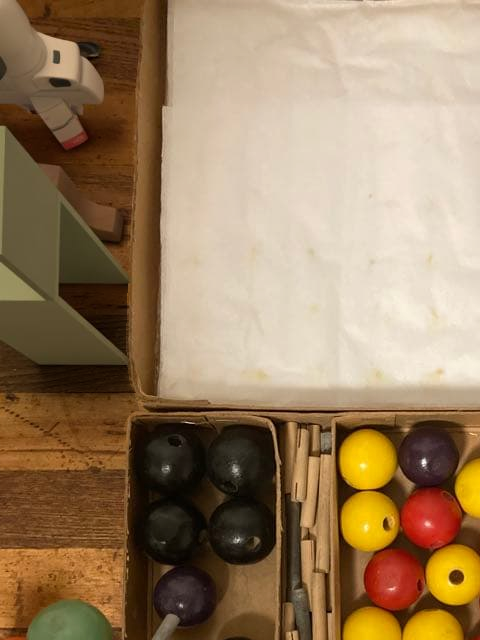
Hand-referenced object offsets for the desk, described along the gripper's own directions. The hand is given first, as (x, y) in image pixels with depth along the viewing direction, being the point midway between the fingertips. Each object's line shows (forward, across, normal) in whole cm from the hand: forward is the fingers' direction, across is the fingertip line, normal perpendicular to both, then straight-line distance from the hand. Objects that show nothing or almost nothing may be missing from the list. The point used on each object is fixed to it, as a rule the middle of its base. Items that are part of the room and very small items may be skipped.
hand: (57, 110), depth 148 cm
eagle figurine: (+5, +2, +11) cm, 12 cm away
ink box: (+5, 0, 0) cm, 5 cm away
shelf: (+5, +4, -36) cm, 37 cm away
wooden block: (+5, +6, -19) cm, 20 cm away
